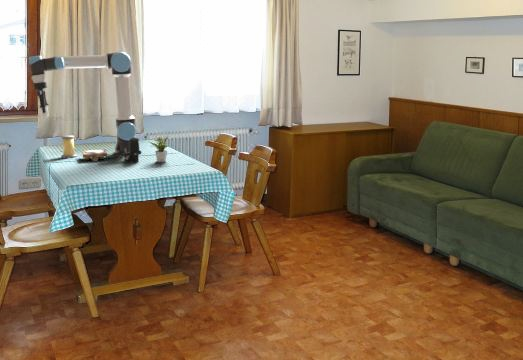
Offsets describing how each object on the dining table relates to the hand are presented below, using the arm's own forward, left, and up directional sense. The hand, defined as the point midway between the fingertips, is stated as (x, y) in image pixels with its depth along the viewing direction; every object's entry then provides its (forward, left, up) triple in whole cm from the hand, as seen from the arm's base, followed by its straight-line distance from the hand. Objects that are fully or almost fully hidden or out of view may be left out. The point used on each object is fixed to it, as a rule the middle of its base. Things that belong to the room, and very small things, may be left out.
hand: (46, 117), depth 388 cm
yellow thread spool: (-12, -6, -26) cm, 29 cm away
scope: (-49, +21, -26) cm, 59 cm away
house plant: (-66, +24, -26) cm, 75 cm away
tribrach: (-27, +7, -26) cm, 38 cm away
